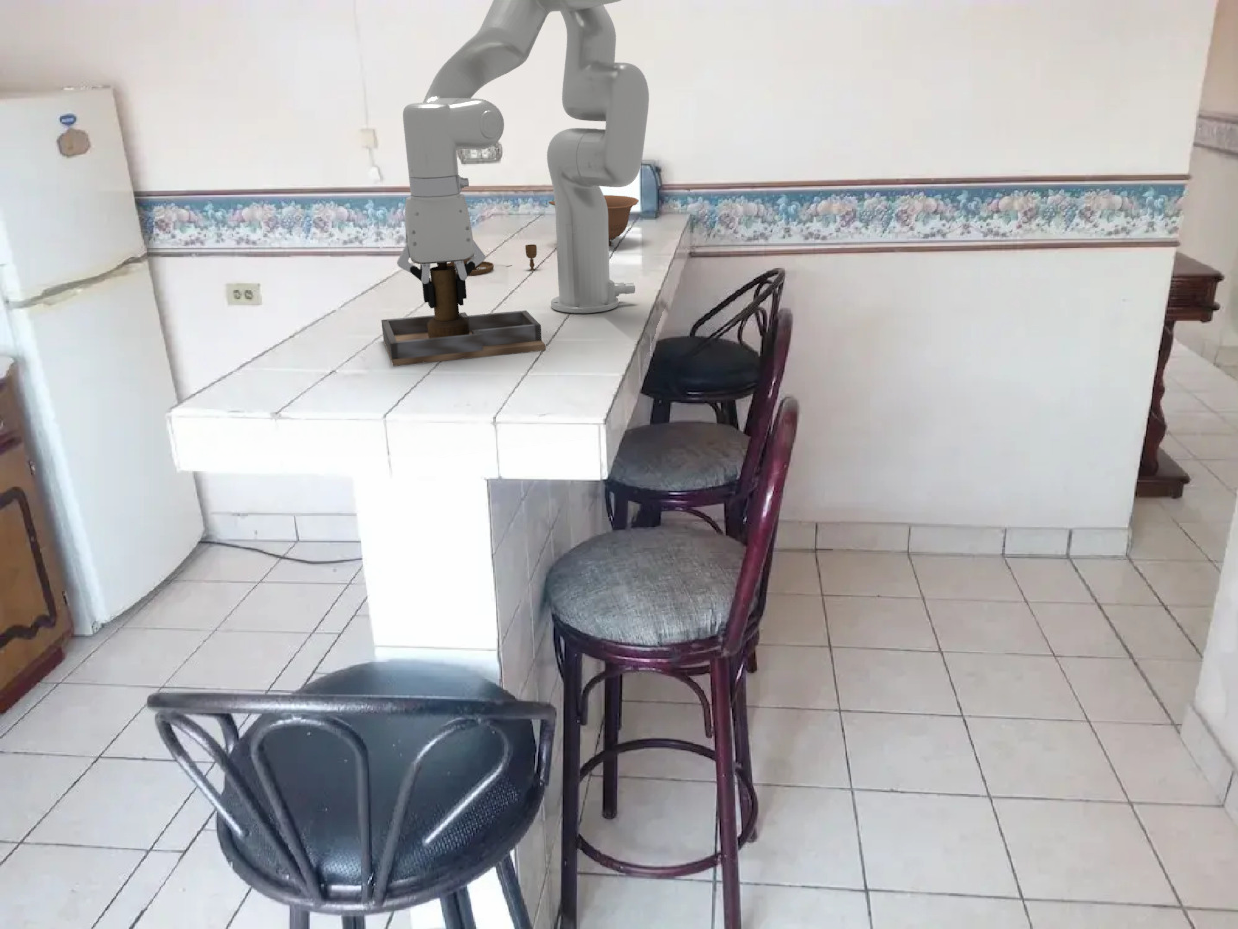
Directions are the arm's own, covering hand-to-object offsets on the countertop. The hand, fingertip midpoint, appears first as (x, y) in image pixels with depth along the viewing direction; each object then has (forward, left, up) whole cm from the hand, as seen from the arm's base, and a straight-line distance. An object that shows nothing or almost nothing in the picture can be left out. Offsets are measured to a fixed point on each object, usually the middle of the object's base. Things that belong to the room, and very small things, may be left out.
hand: (445, 303), depth 163 cm
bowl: (-48, -82, -7) cm, 95 cm away
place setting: (-16, -59, -8) cm, 61 cm away
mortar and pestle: (0, 0, -5) cm, 5 cm away
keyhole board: (-2, 0, -7) cm, 7 cm away
